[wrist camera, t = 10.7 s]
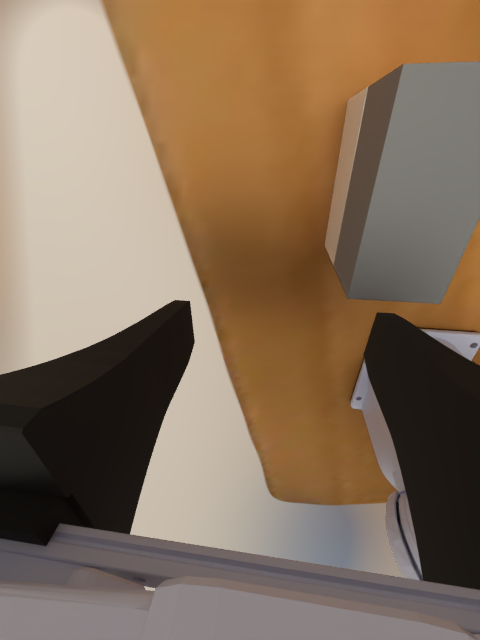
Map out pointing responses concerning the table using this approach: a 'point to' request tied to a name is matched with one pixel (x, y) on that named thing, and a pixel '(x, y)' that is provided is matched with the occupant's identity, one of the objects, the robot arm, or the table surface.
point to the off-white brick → (344, 169)
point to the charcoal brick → (412, 184)
